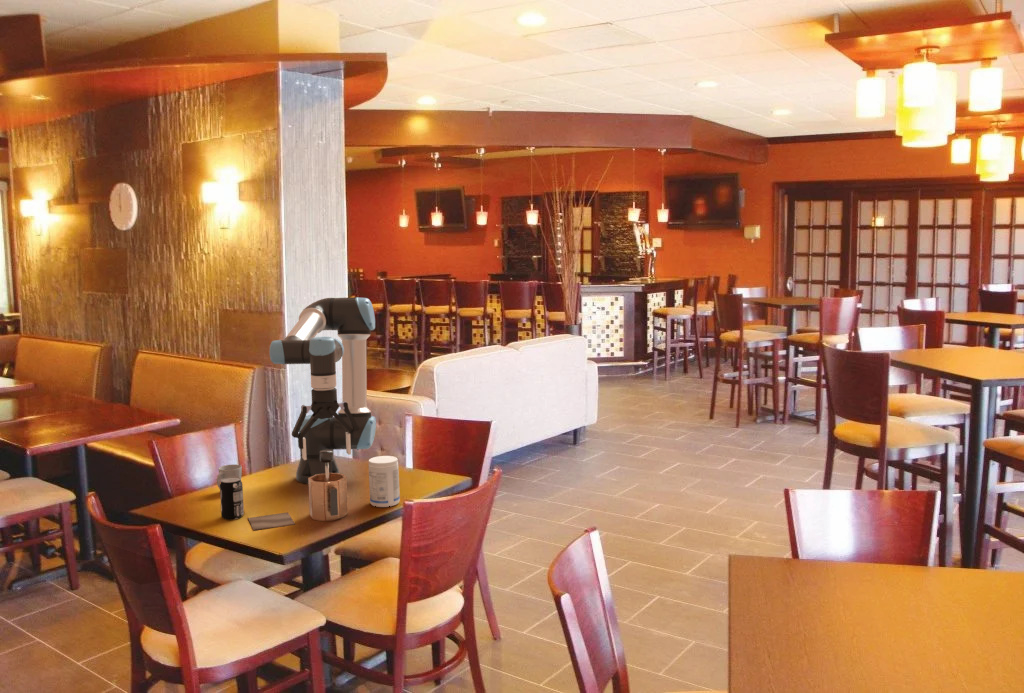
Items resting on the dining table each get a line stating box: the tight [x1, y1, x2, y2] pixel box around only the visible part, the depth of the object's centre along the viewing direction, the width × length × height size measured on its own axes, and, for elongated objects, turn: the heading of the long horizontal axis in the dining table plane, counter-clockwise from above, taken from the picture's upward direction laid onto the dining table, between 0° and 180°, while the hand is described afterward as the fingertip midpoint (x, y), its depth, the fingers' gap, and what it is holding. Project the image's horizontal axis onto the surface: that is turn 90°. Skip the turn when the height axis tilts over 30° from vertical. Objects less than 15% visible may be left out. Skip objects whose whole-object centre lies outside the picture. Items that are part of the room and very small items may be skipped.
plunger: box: [320, 450, 333, 482], centre depth 259 cm, size 8×8×17 cm
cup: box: [216, 463, 243, 490], centre depth 285 cm, size 8×10×8 cm
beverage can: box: [219, 477, 245, 521], centre depth 259 cm, size 7×7×12 cm
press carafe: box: [307, 472, 349, 522], centre depth 258 cm, size 14×11×12 cm
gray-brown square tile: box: [247, 512, 296, 532], centre depth 255 cm, size 12×12×1 cm
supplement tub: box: [367, 455, 401, 508], centre depth 271 cm, size 10×10×15 cm
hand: (326, 456), depth 259 cm, fingers open, 13 cm apart
